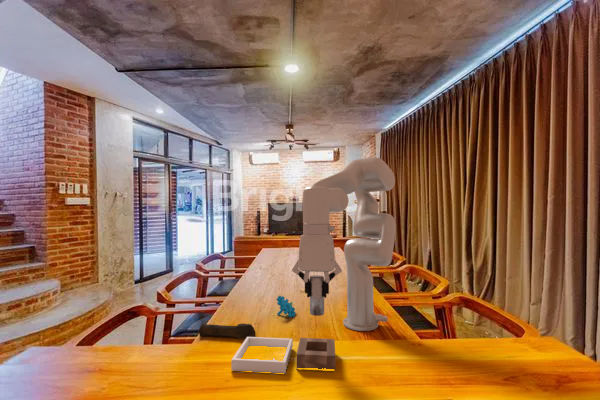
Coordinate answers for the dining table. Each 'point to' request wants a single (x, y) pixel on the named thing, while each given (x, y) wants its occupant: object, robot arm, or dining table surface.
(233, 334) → the hand tool
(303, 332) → the dining table surface
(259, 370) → the tray
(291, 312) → the teal knobbly figurine
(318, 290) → the pin
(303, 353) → the socket block
